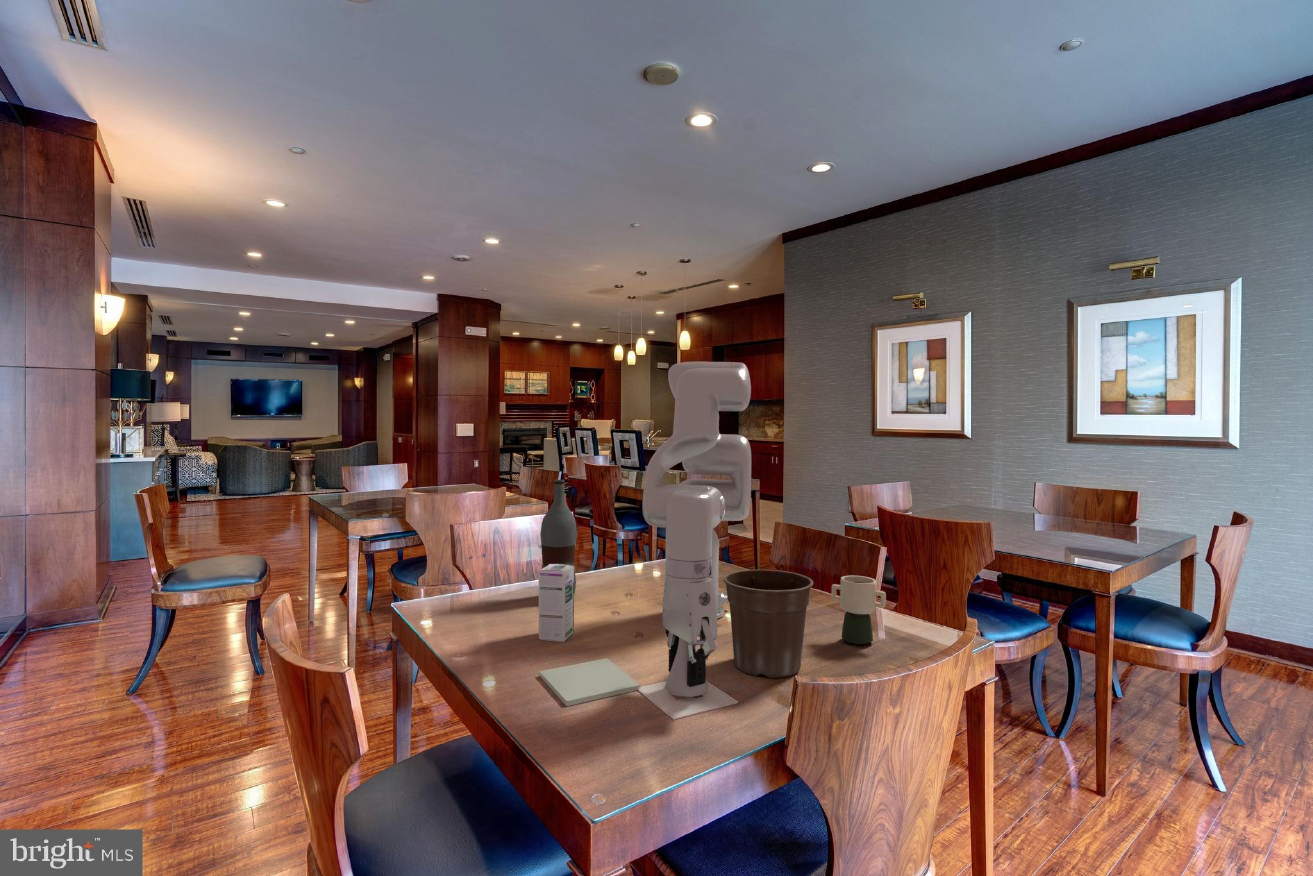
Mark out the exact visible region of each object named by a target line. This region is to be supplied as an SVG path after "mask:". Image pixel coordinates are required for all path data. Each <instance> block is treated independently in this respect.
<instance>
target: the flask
mask: <svg viewBox="0 0 1313 876" xmlns="http://www.w3.org/2000/svg"><path fill="white" fill-rule="evenodd" d="M697 650H698V649H697V645H695V651H697ZM687 661H690V657H689V649H688V642H686V641H685V640H683V639H681V638H680V637H679V644H678V650H677V654H676V657H675V659H674V662H673V665H672V668H671V671H670V672H669V673H668V677H667V679H666V681H667V682H666V684H665V687H664V688H665V689H666V690H667V691H668V692H669V693H670V694H671V695H676V696H684V697H693V696H699V695H704V694H706V692H707V689H708V684H707V682H708V680H706V681H705V683H704V684H701V685H697V686H693V687H689V686H688V685H687Z"/></svg>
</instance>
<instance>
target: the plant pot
mask: <svg viewBox="0 0 1313 876" xmlns="http://www.w3.org/2000/svg"><path fill="white" fill-rule="evenodd" d="M723 582H724V584H725V587H726V594H727V599H728V601H729V602H728V603H729V614H730V625H731V626H730V627H731V638H732V651H733V664H734V666H735V667H736V668H737V669H738V670H740V671H741V672H743V673H745V674H748V675H752V676H754V677H757V676H760V675H763V676H765V677H767V678H773V679H775V678H786V677H790V676H793V675H795V674H797V673H798V672H799V671H800V669H801V667H802V658H803V657H802V656H803V648H804V647H803V645H804V637H805V629H806V628H805V625H806V617H807V607H808V606H809V604H810V594H811V589H812V587H813V586H814V581H813V580H812V578H811V577H808V576H806V575H803V574H800V573H796V572H792V571H785V570H777V569H744V570H743V569H742V570H737V571H732V572H729V573H727V574H725V575H724V576H723Z"/></svg>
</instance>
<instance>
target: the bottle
mask: <svg viewBox="0 0 1313 876" xmlns="http://www.w3.org/2000/svg"><path fill="white" fill-rule="evenodd" d="M553 490H554V492H553V493H554V494H553V502H552V504H551V505H550V508H548V510H547V512H546V514H545V515H544V516H543V518H542V520H541V521H542V522H541V526H540V533H539V534H540V543H541V544H540V547H541V563H542V564H541V569H543V568H545V567H547V566H548V565H549V564H566V565H573V566H574V595H575V594H576V586H577V579H576V578H577V577H576V576H577V575H576V569H575V568H576V567H575V557H576V556H575V555H576V543H577V536H578V531H577V530H578V528H577V522H576V518H575V516H574V514H573V513H572V512H571V510H570V508H569V506H568V505H567V503H566V502H565V480H564V479H554V489H553Z"/></svg>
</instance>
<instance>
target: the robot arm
mask: <svg viewBox="0 0 1313 876" xmlns="http://www.w3.org/2000/svg"><path fill="white" fill-rule="evenodd" d="M667 374H668V376H667V377H668V379H667V380H668V384H669V385H668V386H669V388H670V391H671V393H672V395H673V398H674V400H675V401H674V414H673V415H674V416H673V428H672V435H671V436H670V437H669V438H668V439H666V440H665V441H664V442H663V443H662V444H661V445H660V446H659V447H658V448H657V449H656V450H655V453H654V454H653V455H652V457H651V458H650V460H649V462H648V464H647V467H646V470H645V475H644V485H643V493H642V494H643V495H642V515H643V518H644V521H645V522H646V523H647V524H648V525H650V526H652V527H656V528H665V566H664V567H665V568H664V569H665V574H664V577H665V579H664V586H663V596H662V597H663V598H662V618H661V624H662V626H663V627H664V631H665V634H666V637H667V641H666V645H667V648H668V672H669V673H670V671H671V668H672V665H673V662H674V659H675V657H676V654H677V650H678V644H679V637H680V638H681V639H683V640H685V641H686V642H688V649H689V657H690V661H687V685H688V686H689V687H693V686H697V685H701V684H704V683H705V681H707V679H706V677H707V676H706V672H707V665H706V664H707V662H706V661H708V660H709V657H710V656H711V654H712V653H713V652H715V651H716V650H717V644H716V643H715V641H716V640H717V637H718V619H720V618H722V617H724V615H725V608H724V607H723V606H722V605H724V604H725V603H729V601H728V599H727V593H726V594H724V592H719V563H720V561H719V556H720V553H719V552H720V549H719V547H720V541H719V537H718V534H717V532H716V531H715V528H716V527H717V526H718V525H719V524H720V523H721V522H722V521H724V522H725V521H726V522H729V521H730V522H735V521H736V522H737V521H738V522H740V521H744V520H746V519H747V518H748V516H749V514H750V510H751V502H752V501H751V498H752V450H751V449H752V448H751V444H750V442H749V440H748V438H746V437H745V436H744V435H741V434H725V433H723V434H722V433H720V430H719V429H720V428H719V426H720V424H719V423H720V422H719V421H720V414H719V412H743V411H745V410H746V409H747V408H748V406H749V404H750V401H751V395H752V385H751V377H750V372H749V369H748V367H747V365H746V364H745V363H743V362H735V361H732V362H731V361H684V362H683V361H682V362H678V363H675V364H673V365H671V366H670V367H669V369H668V373H667ZM680 463H682V467H683V469H684V471H685V472H686V473H689V474H692V475H699V476H723V477H724V476H727V477H729V478H730V479H714V478H710V479H709V478H693V479H686V480H683V481H681V482H680V483H679V484H670V483H669V484H667V483H666V484H662V483H661V481H662V479H663V476H664V474H665V473H666V472H667V471H669V469H671V468H672V467H675V466H676V465H677V464H680ZM698 638H699V639H698ZM695 645H696V646H700V647H699V648H698V649H697V651H695Z"/></svg>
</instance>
